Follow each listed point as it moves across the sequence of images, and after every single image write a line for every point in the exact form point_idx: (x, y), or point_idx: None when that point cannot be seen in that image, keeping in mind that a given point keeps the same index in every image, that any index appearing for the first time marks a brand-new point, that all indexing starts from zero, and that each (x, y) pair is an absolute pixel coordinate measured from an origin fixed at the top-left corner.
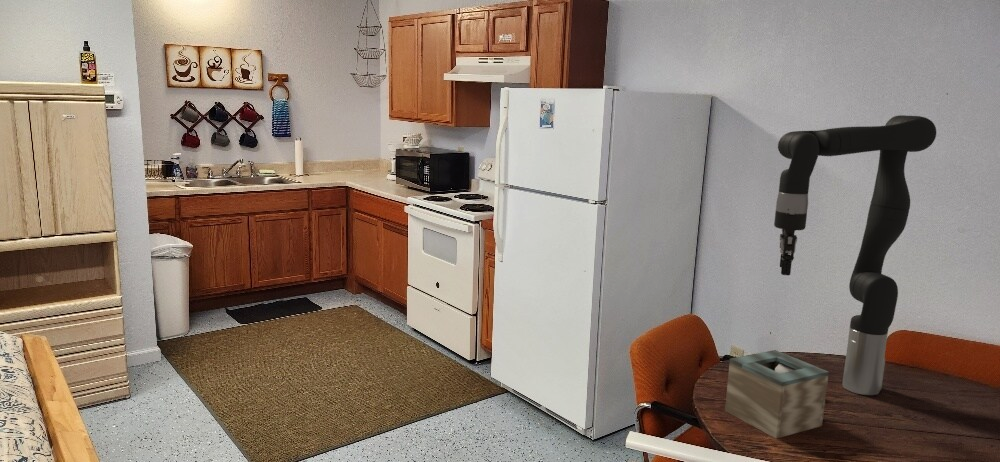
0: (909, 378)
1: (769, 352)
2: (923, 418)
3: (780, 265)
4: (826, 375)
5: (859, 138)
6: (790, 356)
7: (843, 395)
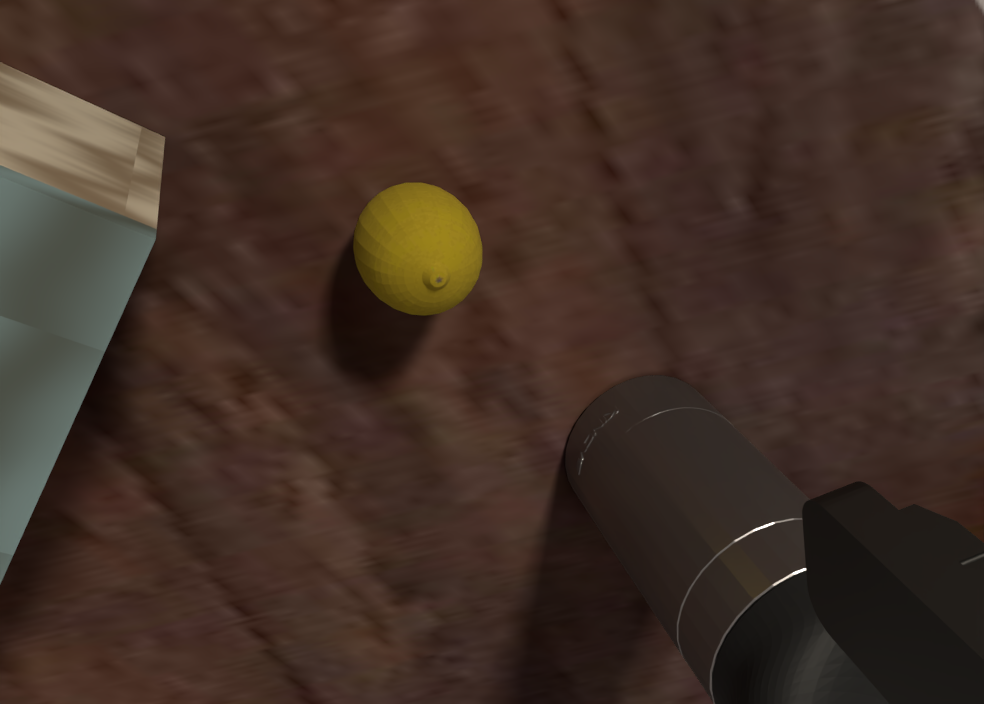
0: None
1: (41, 222)
2: (456, 681)
3: (831, 519)
4: None
5: None
6: (86, 377)
7: (510, 411)
